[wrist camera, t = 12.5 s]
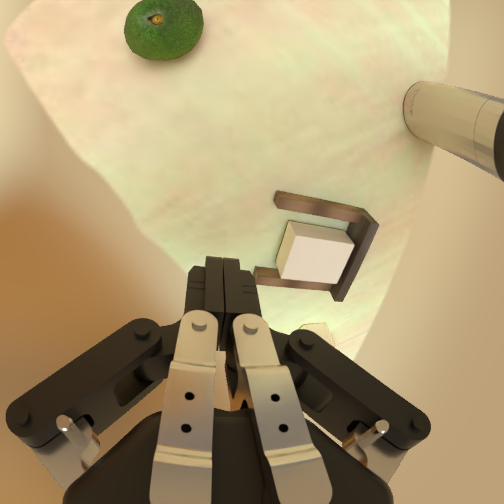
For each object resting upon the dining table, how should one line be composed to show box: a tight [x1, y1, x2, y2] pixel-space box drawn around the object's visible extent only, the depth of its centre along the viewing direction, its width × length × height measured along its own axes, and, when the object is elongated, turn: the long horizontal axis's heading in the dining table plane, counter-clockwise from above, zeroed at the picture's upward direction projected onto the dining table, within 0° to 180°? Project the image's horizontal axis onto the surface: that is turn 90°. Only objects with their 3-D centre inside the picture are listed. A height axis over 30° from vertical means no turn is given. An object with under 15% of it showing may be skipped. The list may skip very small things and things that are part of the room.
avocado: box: [124, 0, 204, 60], centre depth 20 cm, size 8×8×12 cm
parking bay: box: [253, 191, 379, 302], centre depth 41 cm, size 14×14×5 cm
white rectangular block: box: [276, 221, 354, 284], centre depth 42 cm, size 9×7×5 cm
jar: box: [300, 323, 337, 389], centre depth 51 cm, size 9×8×12 cm
